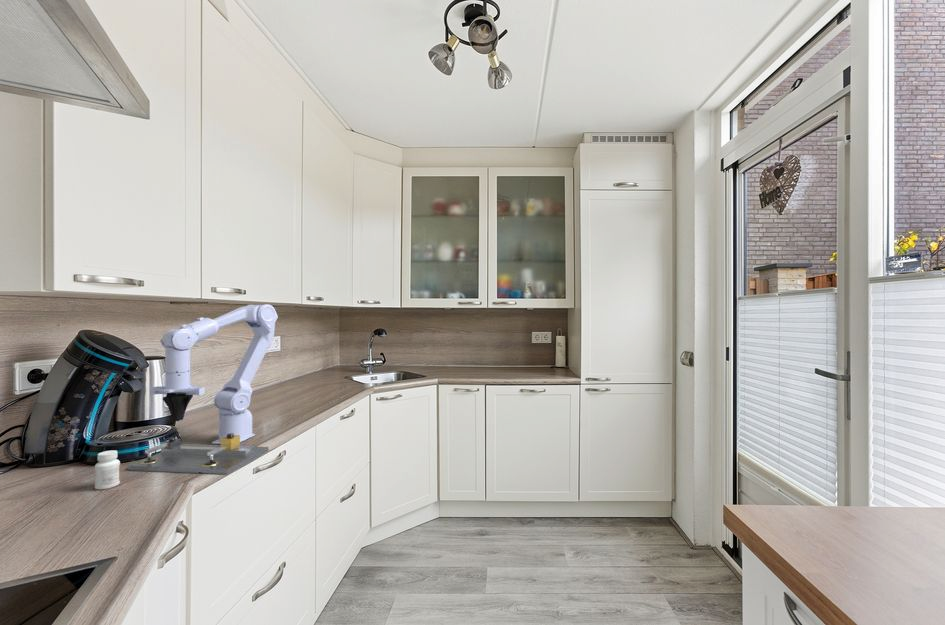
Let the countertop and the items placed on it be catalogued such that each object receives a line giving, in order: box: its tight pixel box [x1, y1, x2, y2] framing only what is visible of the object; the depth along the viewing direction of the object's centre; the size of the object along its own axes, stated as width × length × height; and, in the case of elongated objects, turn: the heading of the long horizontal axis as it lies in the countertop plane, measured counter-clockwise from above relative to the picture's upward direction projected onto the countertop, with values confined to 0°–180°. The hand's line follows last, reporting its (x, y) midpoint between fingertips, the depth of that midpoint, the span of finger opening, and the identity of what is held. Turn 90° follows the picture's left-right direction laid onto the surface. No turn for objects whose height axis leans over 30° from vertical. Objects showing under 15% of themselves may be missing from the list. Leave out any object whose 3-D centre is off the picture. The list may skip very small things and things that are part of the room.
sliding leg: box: [207, 433, 241, 463], centre depth 109 cm, size 10×3×5 cm, turn 174°
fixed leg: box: [144, 437, 182, 460], centre depth 111 cm, size 9×2×3 cm, turn 174°
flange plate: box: [128, 443, 269, 475], centre depth 111 cm, size 17×27×1 cm, turn 84°
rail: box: [160, 446, 250, 456], centre depth 113 cm, size 2×25×2 cm, turn 84°
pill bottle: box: [94, 450, 121, 490], centre depth 95 cm, size 4×4×8 cm
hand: (178, 420), depth 115 cm, fingers closed
